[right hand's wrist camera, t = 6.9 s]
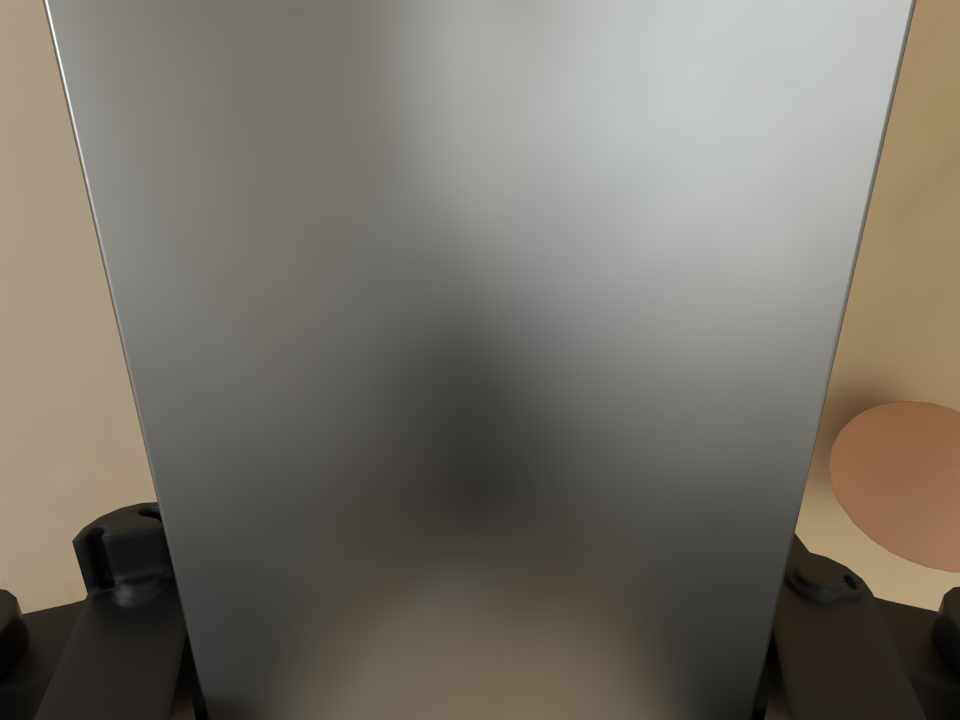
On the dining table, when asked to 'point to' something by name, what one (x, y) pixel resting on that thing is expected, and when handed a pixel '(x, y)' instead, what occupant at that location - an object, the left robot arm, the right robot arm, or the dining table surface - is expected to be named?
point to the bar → (479, 332)
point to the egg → (903, 480)
